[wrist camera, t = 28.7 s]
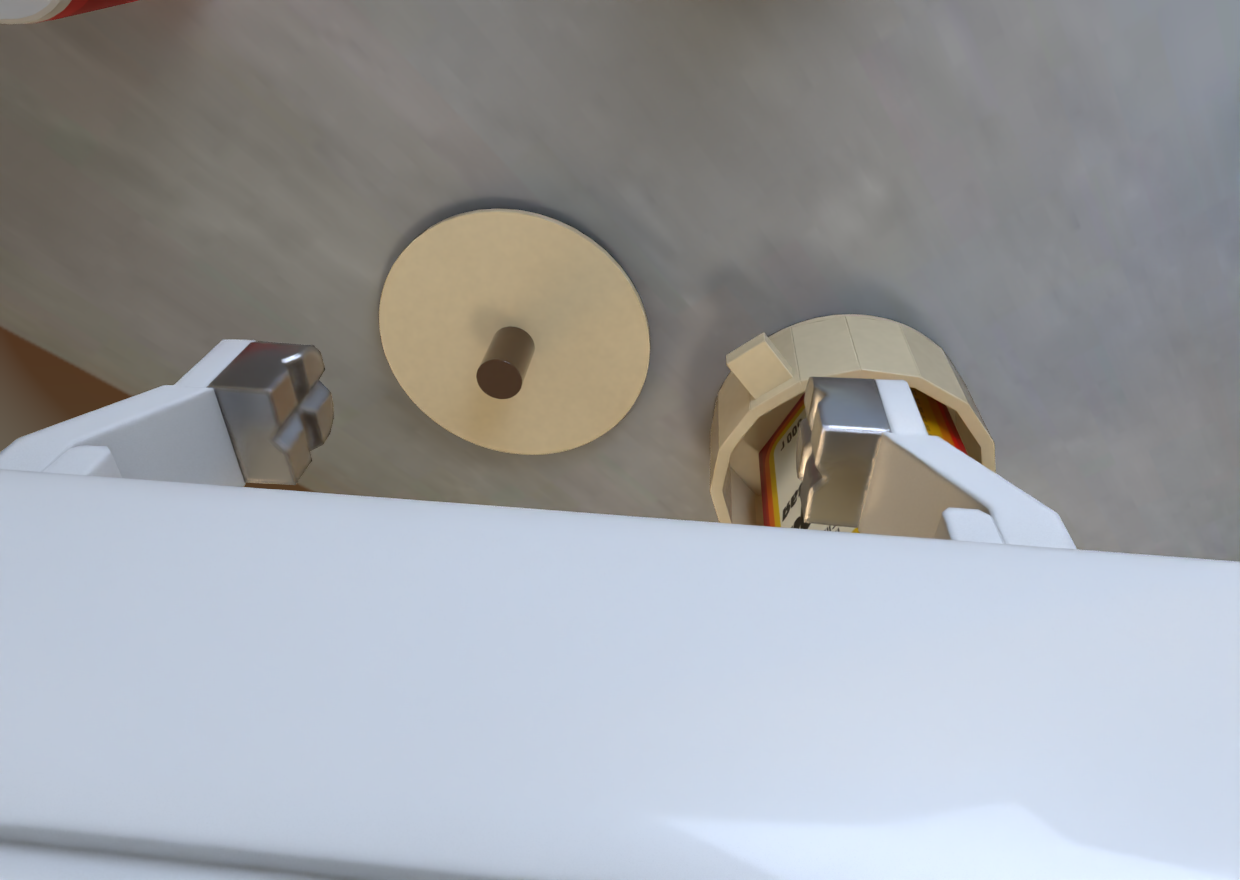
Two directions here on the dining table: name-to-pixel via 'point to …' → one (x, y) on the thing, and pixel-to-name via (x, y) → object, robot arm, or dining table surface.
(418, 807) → the robot arm
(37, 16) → the canned food
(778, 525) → the baking soda box
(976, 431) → the pan
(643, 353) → the pan lid
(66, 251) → the dining table surface
